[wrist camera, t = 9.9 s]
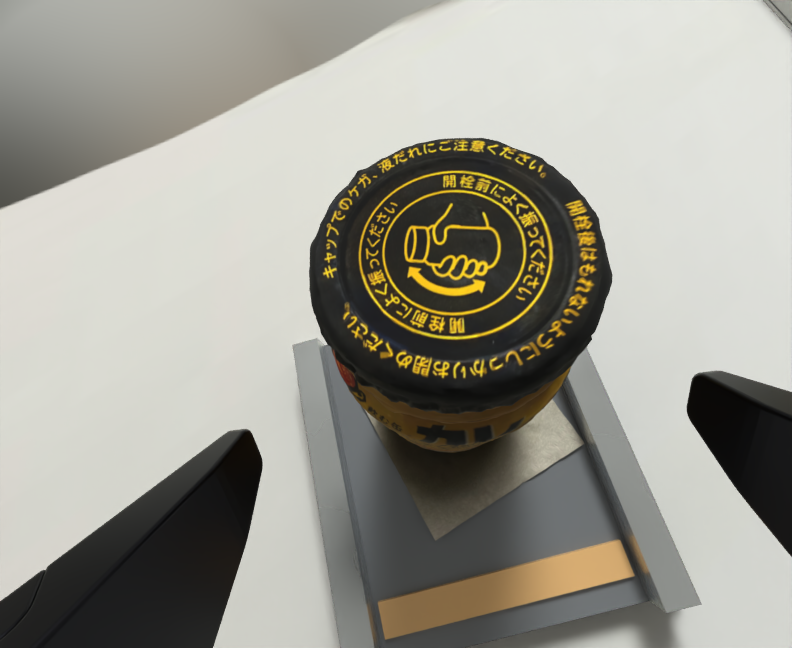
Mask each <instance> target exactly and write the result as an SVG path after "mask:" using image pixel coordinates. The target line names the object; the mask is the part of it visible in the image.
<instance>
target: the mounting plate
mask: <svg viewBox="0 0 792 648" xmlns="http://www.w3.org/2000/svg"><path fill="white" fill-rule="evenodd" d="M325 349H326V354H327V360H328V365H329V370H330V375H331V381H332V386H333V391H334V396H335V402H336V407H337V412H338V417H339V423H340V428H341V433H342V438H343V444H344V449H345V454H346V459H347V465H348V470H349V475H350V480H351V486H352V491H353V496H354V501H355V507H356V512H357V517H358V522H359V527H360V533H361V538H362V543H363V548H364V554H365V559H366V564H367V569H368V575H369V580H370V585H371V590H372V596H373V601H374V606H375V611H376V617H377V622H378V627H379V632H380V638H381V643H382V648H465V647H469V646H473V645H477V644H481V643H485V642H489V641H493V640H497V639H501V638H505V637H509V636H513V635H517V634H521V633H525V632H529V631H533V630H536V629H540V628H544V627H548V626H552V625H556V624H560V623H564V622H568V621H572V620H576V619H580V618H584V617H588V616H592V615H596V614H600V613H604V612H607V611H611V610H615V609H619V608H623V607H627V606H631V605H635V604H639V603H643V602H647V601H649V600H648V597H647V595H646V592H645V590H644V588H643V585H642V583H641V580H640V578H639V575H638V573H637V570H636V568H635V566H634V563H633V561H632V558H631V556H630V553H629V551H628V548H627V546H626V543H625V541H624V539H623V536H622V534H621V531H620V529H619V526H618V524H617V521H616V519H615V517H614V514H613V512H612V509H611V507H610V504H609V502H608V499H607V497H606V494H605V492H604V490H603V487H602V485H601V482H600V480H599V477H598V475H597V472H596V470H595V467H594V465H593V463H592V460H591V458H590V455H589V453H588V450H587V448H586V445H585V443H584V444H583V445H582V446H580V447H578V448H577V449H575V450H574V451H572V452H571V453H569V454H568V455H566V456H565V457H563V458H561V459H559V460H558V461H557V462H555V463H553V464H552V465H550V466H549V467H548V468H546V469H545V470H543V471H541V472H539V473H538V474H537V475H535V476H534V477H532V478H530V479H529V480H527V481H525V482H523V483H521V485H519V486H518V487H516V488H515V489H513V490H512V491H510V492H509V493H507V494H506V495H504V496H502V497H501V498H499V499H498V500H496V501H495V502H493V503H492V504H490V505H489V506H487V507H486V508H484V509H483V510H481V511H480V512H478V513H477V514H475V515H473V516H472V517H470V518H469V519H467V520H466V521H464V522H463V523H461V524H460V525H458V526H457V527H455V528H454V529H452V530H451V531H450V532H448V533H447V534H445V535H443V536H442V537H440V538H439V539H437V540H436V541H435V539H434V537H433V536H432V534H431V532H430V530H429V528H428V526H427V524H426V523H425V521H424V519H423V517H422V515H421V513H420V511H419V509H418V508H417V506H416V504H415V502H414V500H413V498H412V496H411V495H410V493H409V491H408V489H407V487H406V485H405V484H404V482H403V480H402V478H401V476H400V474H399V472H398V471H397V469H396V467H395V465H394V463H393V462H392V460H391V458H390V456H389V454H388V452H387V450H386V448H385V447H384V445H383V443H382V441H381V439H380V437H379V435H378V433H377V431H376V430H375V428H374V426H373V424H372V422H371V420H370V418H369V417H368V415H367V413H366V411H365V409H364V408H363V407H362V406H361V405H360V404H359V403H358V402H357V401H356V400H355V398H354V396H353V395H352V394H351V393H350V392H349V389H348V387H347V385H346V383H345V382H344V380H343V378H342V377H341V375H340V372H339V370H338V367H337V364H336V361H335V358H334V356H333V353H332V350H331V347H330V346H329V345H325ZM552 400H553V401H554V402H555V403H556V405H557V406H558V408H559V410H560V411H561V412H562V414H563V415H564V416H565V418H566V419H567V420H568V421H569V423H570V424H571V425H572V427H573V428H574V429H575V431H576V432H577V434H578V435H579V436H580V438H581V439H582V440H583V438H582V436H581V433H580V431H579V428H578V426H577V423H576V421H575V418H574V416H573V414H572V411H571V409H570V406H569V404H568V401H567V399H566V396H565V394H564V392H563V389H562V387H560V389H559V390H558V392H557V393H556V395H555V396H554V397H553V399H552ZM583 442H584V441H583Z"/></svg>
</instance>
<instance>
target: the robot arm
mask: <svg viewBox="0 0 792 648" xmlns="http://www.w3.org/2000/svg"><path fill="white" fill-rule="evenodd" d="M687 414H688V417H689V419H690V421H691V422H692V424H693V425H694V427H695V428H696V430H697V431H698V433H699V434H700V436H701V437H702V439H703V440H704V442H705V443H706V445H707V446H708V448H709V449H710V451H711V452H712V454H713V455H714V457H715V458H716V460H717V461H718V463H719V464H720V466H721V467H722V469H723V470H724V472H725V473H726V475H727V476H728V478H729V479H730V480H731V482H732V483H733V485H734V486H735V487H736V489H737V490H738V491H739V493H740V494H741V495H742V497H743V498H744V499H745V500H746V502H747V503H748V504H749V505H750V507H751V508H752V509H753V510H754V512H755V513H756V514H757V515H758V516H759V518H760V519H761V520H762V521H763V523H764V524H765V525H766V526H767V527H768V529H769V530H770V531H771V532H772V534H773V535H774V536H775V537H776V538H777V540H778V541H779V542H780V543H781V545H782V546H783V547H784V548H785V549H786V551H787V552H788V553H789V554H790V556H791V557H792V392H790V391H786V390H783V389H780V388H776V387H773V386H770V385H766V384H763V383H760V382H757V381H753V380H750V379H747V378H743V377H740V376H737V375H733V374H730V373H727V372H723V371H710V372H702V373H698V374H696V375H694V377H693V378H692V382H691V387H690V392H689V398H688V403H687ZM261 473H262V458H261V455H260V452H259V450H258V447H257V445H256V442H255V440H254V437H253V435H252V433H251V432H250V430H248V429H241V430H233V431H229V432H227V433H226V434H224V435H223V436H222V437H220V438H219V439H218V440H216V441H215V442H213V443H212V444H211V445H209V446H208V447H207V448H205V449H204V450H203V451H201V452H200V453H199V454H197V455H196V456H195V457H193V458H192V459H191V460H189V461H188V462H187V463H185V464H184V465H183V466H181V467H180V468H179V469H177V470H176V471H175V472H173V473H172V474H171V475H169V476H168V477H167V478H165V479H164V480H163V481H161V482H160V483H159V484H157V485H156V486H155V487H153V488H152V489H151V490H149V491H148V492H146V493H145V494H144V495H142V496H141V497H140V498H138V499H137V500H136V501H134V502H133V503H132V504H130V505H129V506H128V507H126V508H125V509H124V510H122V511H121V512H120V513H118V514H117V515H116V516H114V517H113V518H112V519H110V520H109V521H108V522H106V523H105V524H104V525H102V526H101V527H100V528H98V529H97V530H96V531H94V532H93V533H92V534H90V535H89V536H88V537H86V538H85V539H84V540H82V541H81V542H80V543H78V544H77V545H75V546H74V547H73V548H71V549H70V550H69V551H67V552H66V553H65V554H63V555H62V556H61V557H59V558H58V559H57V560H55V561H54V562H53V563H51V564H50V565H49V566H48V567H47V569H46V570H42V571H40V572H39V573H38V574H36V575H35V576H34V577H32V578H31V579H30V580H28V581H27V582H26V583H24V584H23V585H22V586H20V587H19V588H18V589H16V590H15V591H14V592H12V593H11V594H10V595H8V596H7V597H6V598H4V599H3V600H1V601H0V648H213V646H214V643H215V639H216V636H217V633H218V630H219V627H220V624H221V621H222V618H223V614H224V611H225V608H226V605H227V602H228V599H229V596H230V592H231V589H232V586H233V583H234V580H235V577H236V574H237V571H238V567H239V564H240V561H241V558H242V555H243V552H244V548H245V545H246V542H247V538H248V534H249V529H250V525H251V520H252V515H253V511H254V506H255V501H256V496H257V492H258V487H259V482H260V477H261Z"/></svg>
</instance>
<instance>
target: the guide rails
mask: <svg viewBox="0 0 792 648" xmlns="http://www.w3.org/2000/svg"><path fill="white" fill-rule="evenodd" d="M293 352H294V358H295V364H296V371H297V377H298V383H299V390H300V396H301V402H302V408H303V415H304V421H305V427H306V434H307V440H308V446H309V452H310V459H311V465H312V471H313V478H314V484H315V490H316V497H317V503H318V509H319V515H320V522H321V528H322V534H323V541H324V547H325V553H326V560H327V566H328V572H329V578H330V585H331V591H332V597H333V604H334V610H335V616H336V622H337V629H338V635H339V641H340V648H382V643H381V638H380V632H379V627H378V622H377V617H376V611H375V606H374V601H373V596H372V590H371V585H370V580H369V575H368V569H367V564H366V559H365V554H364V548H363V543H362V538H361V533H360V527H359V522H358V517H357V512H356V507H355V501H354V496H353V491H352V486H351V480H350V475H349V470H348V465H347V459H346V454H345V449H344V444H343V438H342V433H341V428H340V423H339V417H338V412H337V407H336V402H335V396H334V391H333V386H332V381H331V375H330V370H329V365H328V360H327V354H326V349H325V345H324V344H323V343H322V342H321V341H320V340H319V339H318V338H316V339H313V340H309V341H306V342H302V343H298V344H295V345H293ZM561 387H562V389H563V392H564V394H565V396H566V399H567V401H568V404H569V406H570V409H571V411H572V414H573V416H574V418H575V421H576V423H577V426H578V428H579V431H580V433H581V436H582V438H583V441H584V443H585V445H586V448H587V450H588V453H589V455H590V458H591V460H592V463H593V465H594V467H595V470H596V472H597V475H598V477H599V480H600V482H601V485H602V487H603V490H604V492H605V494H606V497H607V499H608V502H609V504H610V507H611V509H612V512H613V514H614V517H615V519H616V521H617V524H618V526H619V529H620V531H621V534H622V536H623V539H624V541H625V543H626V546H627V548H628V551H629V553H630V556H631V558H632V561H633V563H634V566H635V568H636V570H637V573H638V575H639V578H640V580H641V583H642V585H643V588H644V590H645V592H646V595H647V597H648V600H649V601H650V602H651V603H653V604H654V605H656V606H657V607H658V608H660V609H661V610H663V611H664V612H666V613H669V612H673V611H677V610H681V609H685V608H689V607H693V606H697V605H701V602H700V599H699V597H698V595H697V593H696V590H695V588H694V586H693V584H692V582H691V579H690V577H689V575H688V573H687V570H686V568H685V566H684V564H683V561H682V559H681V557H680V555H679V553H678V550H677V548H676V546H675V544H674V541H673V539H672V537H671V535H670V532H669V530H668V528H667V526H666V524H665V521H664V519H663V517H662V515H661V512H660V510H659V508H658V506H657V503H656V501H655V499H654V497H653V495H652V492H651V490H650V488H649V486H648V483H647V481H646V479H645V477H644V474H643V472H642V470H641V468H640V466H639V463H638V461H637V459H636V457H635V454H634V452H633V450H632V448H631V446H630V443H629V441H628V439H627V437H626V434H625V432H624V430H623V428H622V425H621V423H620V421H619V419H618V417H617V414H616V412H615V410H614V408H613V405H612V403H611V401H610V399H609V396H608V394H607V392H606V390H605V388H604V385H603V383H602V381H601V379H600V376H599V374H598V372H597V370H596V367H595V365H594V363H593V361H592V359H591V356H590V354H589V352H588V350H587V347H586V348H585V350H584V351H583V352H582V353H581V354H580V355H579V356H578V357H577V359H576V360H575V362H574V363H573V365H572V366H571V369H570V372H569V374H568V376H567V378H566V380H565V381H564V383H563V384H562V386H561Z"/></svg>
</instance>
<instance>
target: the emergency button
mask: <svg viewBox="0 0 792 648" xmlns="http://www.w3.org/2000/svg"><path fill="white" fill-rule="evenodd" d="M763 1H764V2H765V3H766V4H767V5H768V6H769V7H770V8H771V9H772V10H773V11H774V12H775V14H776V15H777V16H778V17H779V18H780V19H781V20H782V21H783V22H784V23H785V24H786V25H787V27H788V28H789V29H790V30H791V31H792V0H763Z"/></svg>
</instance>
